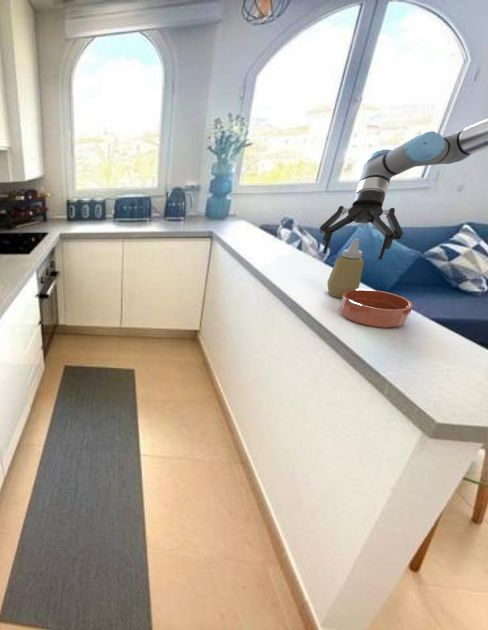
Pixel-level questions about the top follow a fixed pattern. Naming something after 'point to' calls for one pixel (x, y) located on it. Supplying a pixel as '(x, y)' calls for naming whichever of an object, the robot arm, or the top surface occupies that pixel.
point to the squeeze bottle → (346, 271)
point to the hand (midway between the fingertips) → (351, 254)
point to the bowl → (375, 308)
